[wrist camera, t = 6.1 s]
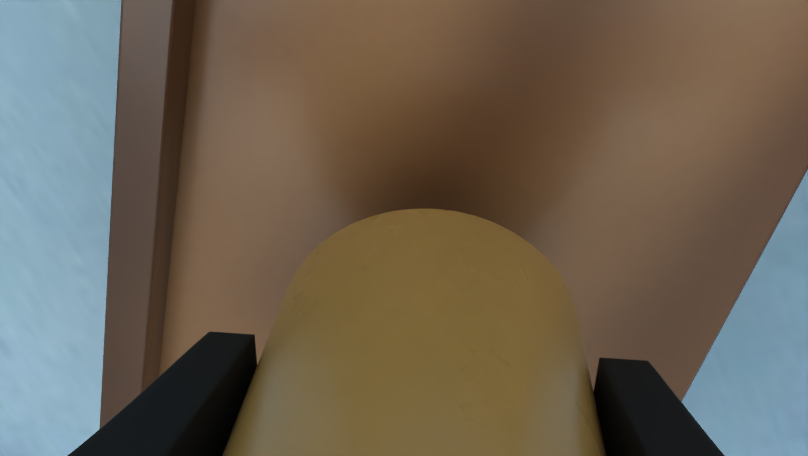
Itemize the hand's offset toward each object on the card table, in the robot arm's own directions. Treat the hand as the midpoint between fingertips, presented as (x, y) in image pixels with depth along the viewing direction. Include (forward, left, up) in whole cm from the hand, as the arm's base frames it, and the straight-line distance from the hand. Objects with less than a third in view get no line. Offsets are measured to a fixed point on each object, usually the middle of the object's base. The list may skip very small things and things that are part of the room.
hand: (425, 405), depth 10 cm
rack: (0, 0, -9) cm, 9 cm away
